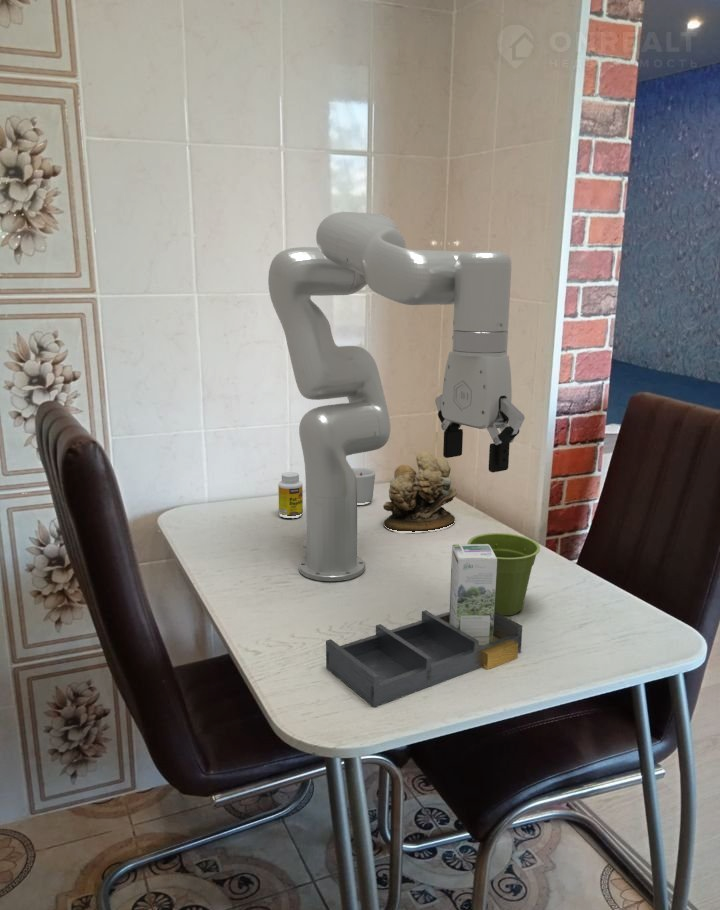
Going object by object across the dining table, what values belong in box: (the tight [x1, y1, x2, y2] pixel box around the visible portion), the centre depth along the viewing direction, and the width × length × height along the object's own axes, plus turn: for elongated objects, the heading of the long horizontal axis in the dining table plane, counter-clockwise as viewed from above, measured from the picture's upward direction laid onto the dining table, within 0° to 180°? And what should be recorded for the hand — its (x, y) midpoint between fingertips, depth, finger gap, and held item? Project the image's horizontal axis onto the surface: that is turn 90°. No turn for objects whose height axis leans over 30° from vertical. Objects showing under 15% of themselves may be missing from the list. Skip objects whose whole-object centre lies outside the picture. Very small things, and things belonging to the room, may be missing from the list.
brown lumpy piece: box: [383, 451, 458, 532], centre depth 167 cm, size 18×12×17 cm, turn 117°
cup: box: [351, 467, 376, 503], centre depth 184 cm, size 11×8×8 cm
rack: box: [325, 609, 523, 708], centre depth 108 cm, size 13×27×4 cm, turn 124°
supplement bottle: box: [277, 471, 304, 516], centre depth 173 cm, size 6×6×10 cm
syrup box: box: [449, 543, 497, 647], centre depth 112 cm, size 6×6×14 cm
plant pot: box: [466, 532, 541, 616], centre depth 125 cm, size 12×12×11 cm
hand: (474, 463), depth 107 cm, fingers open, 9 cm apart
